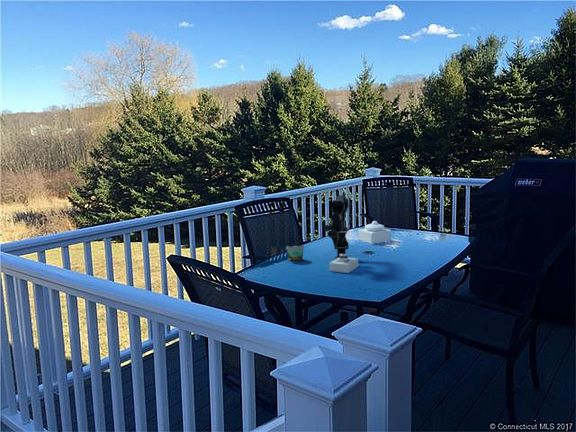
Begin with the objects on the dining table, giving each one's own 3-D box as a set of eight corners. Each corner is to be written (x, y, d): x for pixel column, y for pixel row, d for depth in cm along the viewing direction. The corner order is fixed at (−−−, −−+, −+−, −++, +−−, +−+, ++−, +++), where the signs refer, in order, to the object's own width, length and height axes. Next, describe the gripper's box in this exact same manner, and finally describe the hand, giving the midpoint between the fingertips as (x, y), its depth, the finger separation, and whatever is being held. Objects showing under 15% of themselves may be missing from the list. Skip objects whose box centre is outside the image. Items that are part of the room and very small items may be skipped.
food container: (288, 262, 303) (288, 247, 301) (286, 260, 309) (285, 245, 307) (307, 261, 306) (306, 246, 305) (304, 258, 312) (303, 244, 311)
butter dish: (358, 240, 364) (358, 220, 361) (377, 237, 371) (377, 218, 368) (371, 244, 348) (371, 223, 345) (391, 241, 355) (391, 221, 353)
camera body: (340, 264, 294) (340, 255, 294) (358, 266, 289) (358, 257, 288) (329, 271, 281) (329, 261, 280) (348, 273, 275) (348, 263, 274)
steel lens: (342, 263, 288) (341, 252, 287) (349, 264, 285) (349, 253, 284) (338, 266, 284) (337, 254, 283) (346, 266, 281) (345, 255, 280)
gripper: (332, 217, 305) (332, 241, 307) (319, 222, 289) (320, 247, 291) (348, 218, 299) (348, 242, 302) (336, 223, 283) (336, 248, 286)
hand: (338, 244), depth 295 cm, fingers open, 9 cm apart
